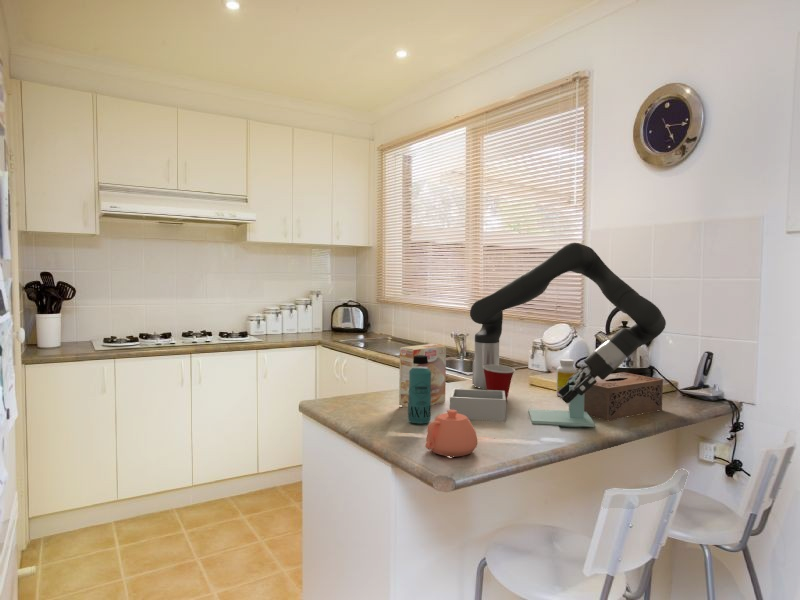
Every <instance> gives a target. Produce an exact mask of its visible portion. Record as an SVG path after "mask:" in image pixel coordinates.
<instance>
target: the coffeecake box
mask: <svg viewBox="0 0 800 600" xmlns="http://www.w3.org/2000/svg"><path fill="white" fill-rule="evenodd" d="M416 355H425V356H427V358H428V363H427V364H414V363H413V360H414V356H416ZM413 367H427V368H429V369H430V371H431V406H433V405H436V404H441V403H445V402H446V382H447V381H446V379H447V378H446V377H447V374H446V373H447V346H446V345H443V344H436V343H429V344H419V345H410V346H409V345H408V346H401V347H399V386H398V388H399V389H398V391H399V392H398V393H399V394H398V396H399V397H398V398H399V399H398V402H399V403H398V406H399V405H402V406H403V407H404V406H405V407H404V408H408V404H409V400H408V396H409V393H408V392H409V371H410V370H411V369H412V368H413Z"/></svg>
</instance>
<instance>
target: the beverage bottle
mask: <svg viewBox="0 0 800 600" xmlns="http://www.w3.org/2000/svg"><path fill="white" fill-rule="evenodd" d="M413 363H414V364H427V363H428V358H427V356H425V355H416V356H414V360H413ZM408 393H409V396H408V400H409V404H408V407H407V408H408V409H407V415H408V416H407V419H408V421H409V422H410V423H413V424H426V423H430V421H431V416H432V405H431V371H430V369H429V368H427V367H413V368H412V369H411V370H410V371H409V392H408Z"/></svg>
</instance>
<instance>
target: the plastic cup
mask: <svg viewBox="0 0 800 600" xmlns="http://www.w3.org/2000/svg"><path fill="white" fill-rule="evenodd" d="M483 369H484V373H485V380H486V387H487V389H486V390H499V391H505V397H506V402H507V401H508V398H509V397H508V396H509V391H510V387H511V382H512V379H513V375H514V374H515V372H516V369H515V368H513V367H511V366H507V365H502V364H499V365H493V364H490V365H483Z"/></svg>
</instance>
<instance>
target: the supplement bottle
mask: <svg viewBox="0 0 800 600" xmlns="http://www.w3.org/2000/svg"><path fill="white" fill-rule="evenodd" d="M559 364H560V365H559V366H558V367H557V368H556V396H558V397H560V398H562V396H561V395H560V394H559V390H560V389H561V388H562V387H564V386H565V385H566V384H568V383H567V382H568V379H569V378H570V377H571V376H572V375H573V374H575V373H576V372H577V371H578V370H577V369H576V367H575V366H574V364H575V360H574V359H570V358H562V359H559Z"/></svg>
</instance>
